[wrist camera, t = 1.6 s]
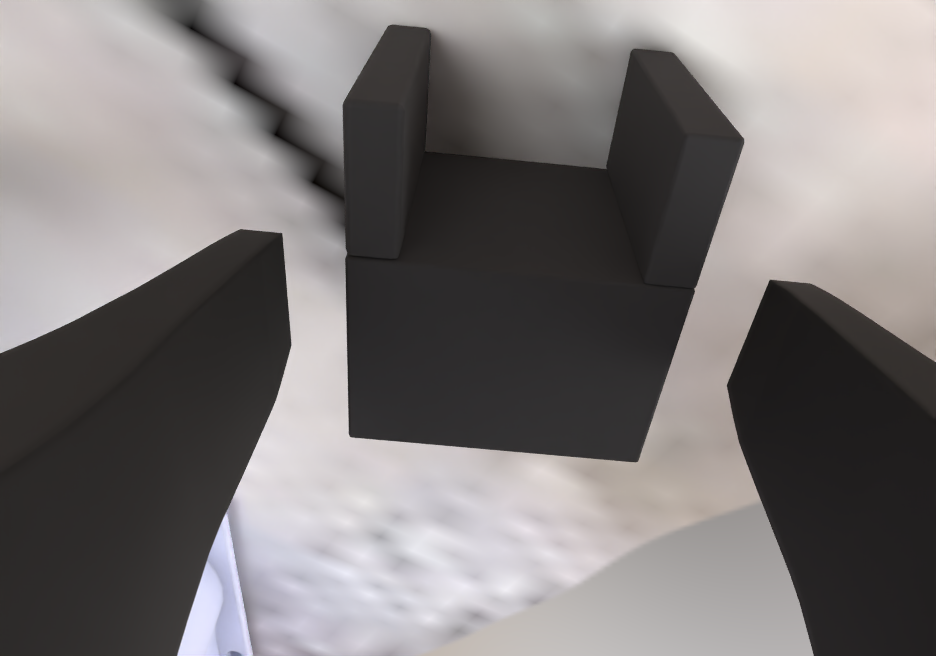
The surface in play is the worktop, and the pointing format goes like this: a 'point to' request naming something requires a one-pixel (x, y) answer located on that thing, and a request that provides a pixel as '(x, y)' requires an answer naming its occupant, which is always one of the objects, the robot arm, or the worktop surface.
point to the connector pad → (523, 266)
